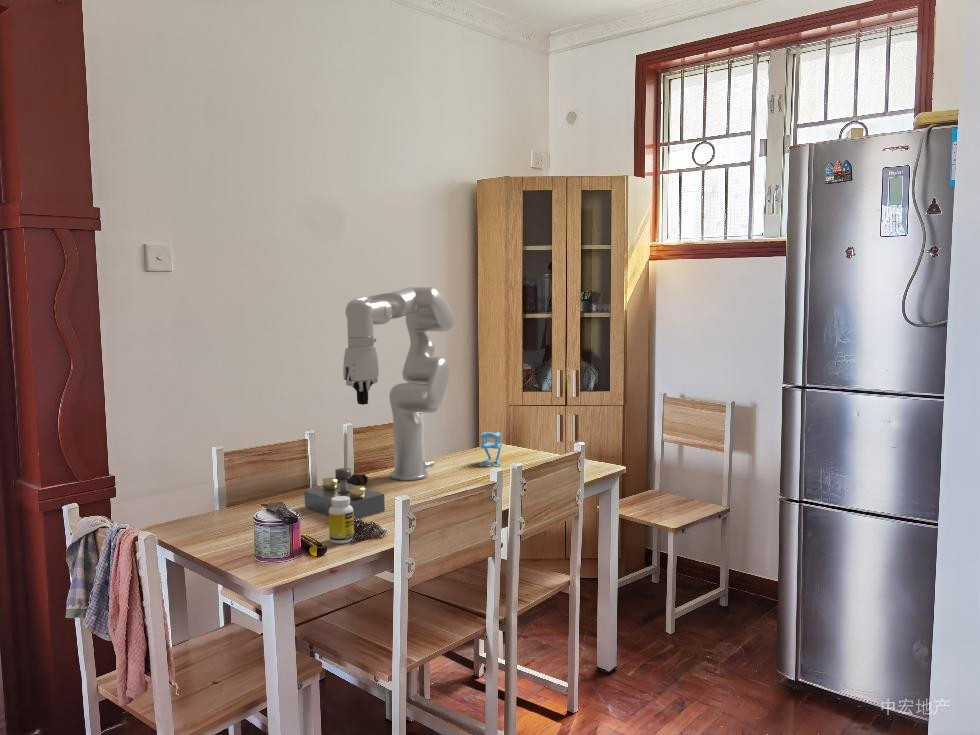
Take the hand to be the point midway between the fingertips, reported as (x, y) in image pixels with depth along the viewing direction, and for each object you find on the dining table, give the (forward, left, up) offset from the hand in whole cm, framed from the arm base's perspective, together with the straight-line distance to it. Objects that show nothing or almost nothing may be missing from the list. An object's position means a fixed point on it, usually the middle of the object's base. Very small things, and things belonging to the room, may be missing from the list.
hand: (362, 403), depth 238 cm
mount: (+11, +5, -29) cm, 32 cm away
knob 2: (+11, +12, -29) cm, 33 cm away
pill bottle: (+27, +28, -29) cm, 49 cm away
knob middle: (+11, +5, -25) cm, 28 cm away
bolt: (-3, -12, -30) cm, 32 cm away
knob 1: (+11, -2, -29) cm, 31 cm away
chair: (-58, -5, -29) cm, 65 cm away
